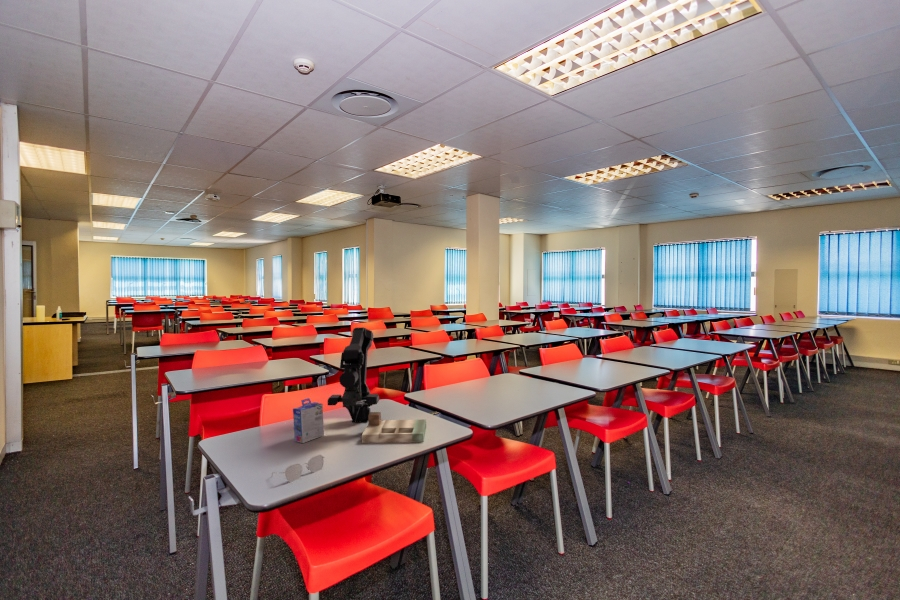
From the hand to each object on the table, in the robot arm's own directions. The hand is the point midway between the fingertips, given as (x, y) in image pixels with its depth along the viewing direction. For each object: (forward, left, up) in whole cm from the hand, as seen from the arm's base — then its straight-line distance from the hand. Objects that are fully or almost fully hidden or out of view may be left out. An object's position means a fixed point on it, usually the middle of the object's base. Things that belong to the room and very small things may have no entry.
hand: (354, 421), depth 163 cm
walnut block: (+8, 0, -1) cm, 8 cm away
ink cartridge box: (-16, -6, -4) cm, 17 cm away
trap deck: (+16, -4, -4) cm, 17 cm away
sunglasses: (-9, -35, -5) cm, 36 cm away
